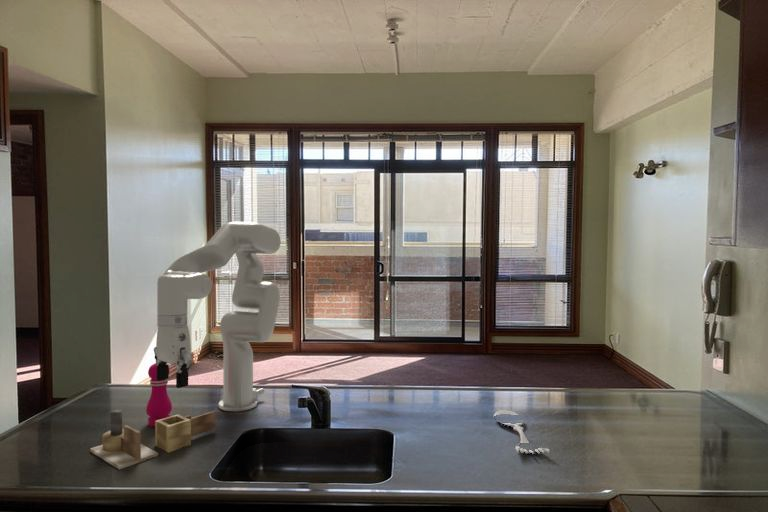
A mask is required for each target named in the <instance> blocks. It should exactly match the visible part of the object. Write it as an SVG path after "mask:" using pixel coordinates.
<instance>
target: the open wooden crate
mask: <svg viewBox="0 0 768 512" xmlns="http://www.w3.org/2000/svg"><path fill="white" fill-rule="evenodd" d="M154 429H155V430H154V435H155V436H154V437H155V439H154V440H155V442H154V443H155V447H156V446H157V447H156V448H158V447H159V449H160V448H161V449H160V450H162V449H163V450H162V451H164V452H166V453H168V454H169V453H171V451H172V452H174V450H175V451H177V449H178V450H181V449H183V448H182V447H184V448H186V447H189V446H191V445H192V437H193V436H196V435H200V434H202V433H205V432H209V431H211V430H214V429H216V411H215V410H212V411H209V412H205V413H202V414H200V415H196V416H193V417H192V415H190V414H188V415H185V416H183V415H181V414H179V413H178V414H175V415H170V417H167V418H163V419H160V420H156V421H155V428H154ZM188 445H189V446H188ZM185 446H186V447H185ZM180 448H181V449H180Z"/></svg>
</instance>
